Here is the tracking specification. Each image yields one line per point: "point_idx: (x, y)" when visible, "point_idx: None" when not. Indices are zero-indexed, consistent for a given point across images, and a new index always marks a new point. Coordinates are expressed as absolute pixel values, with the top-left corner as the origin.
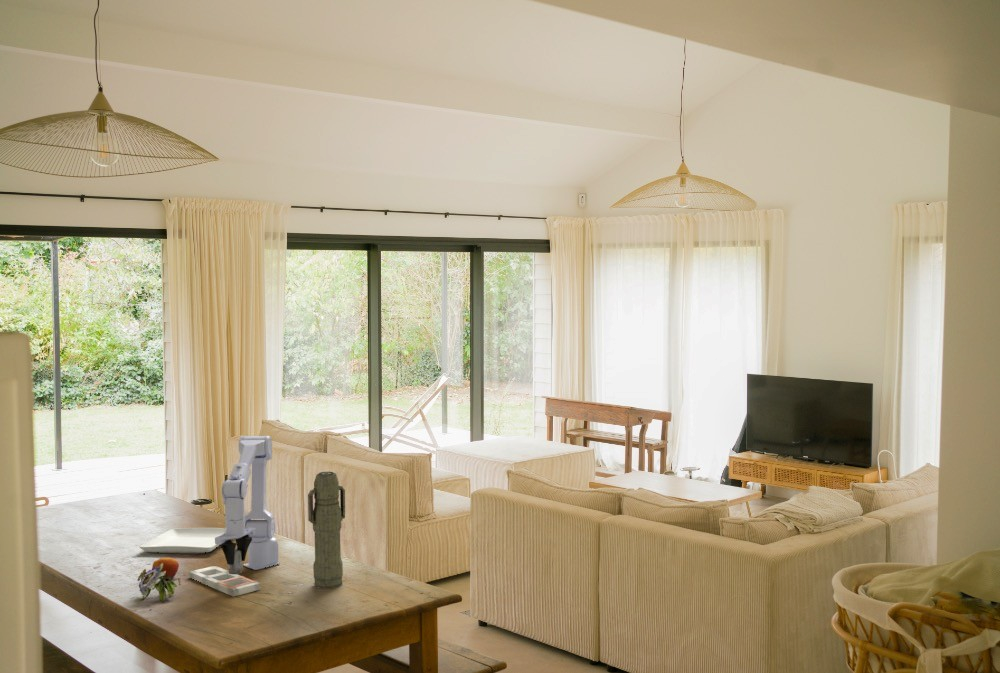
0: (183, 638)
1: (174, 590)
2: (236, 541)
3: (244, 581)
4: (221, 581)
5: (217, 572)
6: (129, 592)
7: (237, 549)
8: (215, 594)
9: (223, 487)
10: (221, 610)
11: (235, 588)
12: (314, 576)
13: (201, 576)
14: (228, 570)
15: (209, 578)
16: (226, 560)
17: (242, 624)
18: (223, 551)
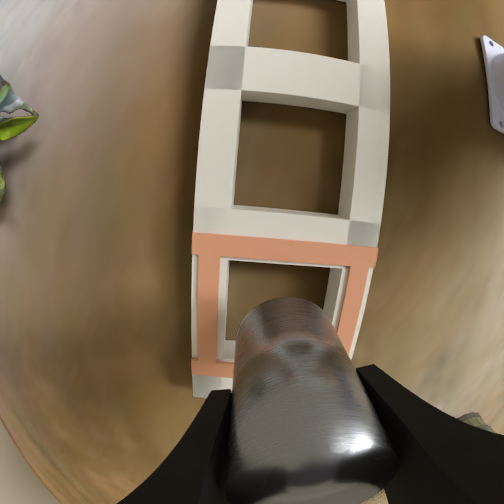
0: (20, 449)
1: (4, 183)
2: (454, 498)
3: (331, 313)
4: (224, 238)
5: (352, 13)
6: (5, 17)
7: (347, 490)
8: (154, 289)
9: None
10: (106, 432)
11: (213, 388)
12: None
13: (215, 31)
14: (240, 332)
15: (221, 100)
16: (199, 411)
17: (123, 496)
18: (147, 483)
